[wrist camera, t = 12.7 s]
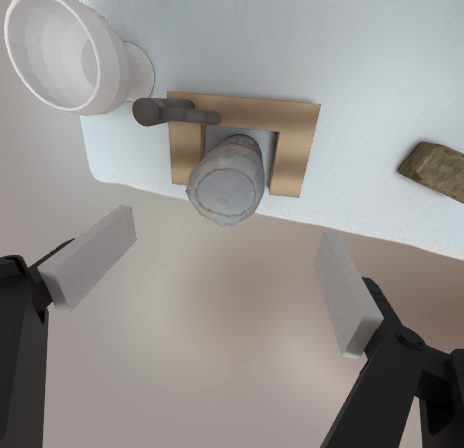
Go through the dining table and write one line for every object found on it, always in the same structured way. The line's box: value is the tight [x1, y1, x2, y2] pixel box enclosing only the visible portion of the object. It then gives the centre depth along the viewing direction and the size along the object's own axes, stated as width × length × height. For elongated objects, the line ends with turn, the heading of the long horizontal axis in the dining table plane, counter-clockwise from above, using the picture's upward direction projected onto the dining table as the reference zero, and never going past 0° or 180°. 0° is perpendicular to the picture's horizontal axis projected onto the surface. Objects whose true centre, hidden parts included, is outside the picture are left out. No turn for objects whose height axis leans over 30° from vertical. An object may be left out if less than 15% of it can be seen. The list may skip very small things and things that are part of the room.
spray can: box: [186, 134, 265, 226], centre depth 30 cm, size 8×8×20 cm
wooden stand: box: [132, 91, 321, 198], centre depth 31 cm, size 14×22×18 cm, turn 86°
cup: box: [4, 0, 154, 116], centre depth 28 cm, size 11×11×15 cm
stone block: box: [399, 142, 464, 203], centre depth 35 cm, size 6×12×5 cm, turn 69°
